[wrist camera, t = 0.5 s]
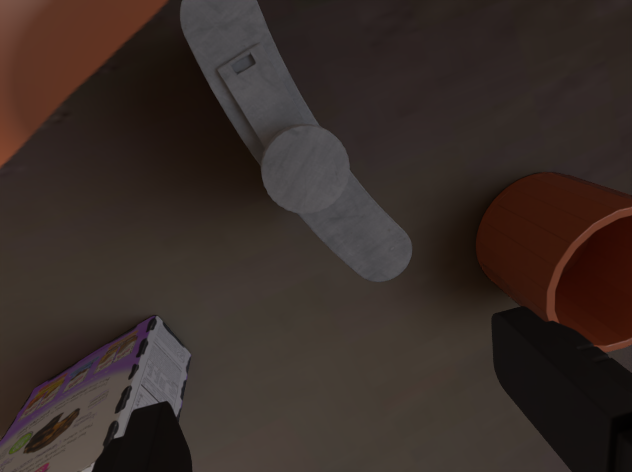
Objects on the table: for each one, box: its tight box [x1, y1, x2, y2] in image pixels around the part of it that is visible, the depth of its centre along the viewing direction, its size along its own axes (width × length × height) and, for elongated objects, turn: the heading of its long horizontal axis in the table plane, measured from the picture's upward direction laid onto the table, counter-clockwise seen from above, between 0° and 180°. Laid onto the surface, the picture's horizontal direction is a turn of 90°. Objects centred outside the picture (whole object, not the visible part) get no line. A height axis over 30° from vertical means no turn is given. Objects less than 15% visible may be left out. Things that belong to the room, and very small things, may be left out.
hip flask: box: [180, 0, 412, 282], centre depth 27 cm, size 16×4×20 cm, turn 34°
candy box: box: [0, 315, 191, 472], centre depth 34 cm, size 14×6×16 cm, turn 120°
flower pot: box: [476, 172, 632, 353], centre depth 39 cm, size 13×13×11 cm
